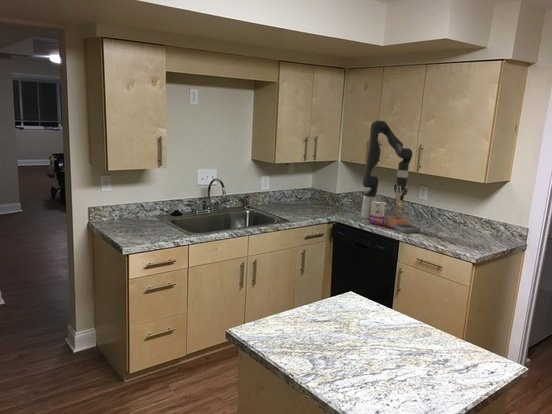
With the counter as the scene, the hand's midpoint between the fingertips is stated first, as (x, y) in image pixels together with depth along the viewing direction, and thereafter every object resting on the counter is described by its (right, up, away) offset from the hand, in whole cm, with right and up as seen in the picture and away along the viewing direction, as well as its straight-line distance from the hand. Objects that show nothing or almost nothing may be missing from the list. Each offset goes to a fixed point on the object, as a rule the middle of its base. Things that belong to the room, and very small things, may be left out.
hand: (399, 199), depth 329 cm
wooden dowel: (-1, -9, +2) cm, 9 cm away
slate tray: (+3, -22, -6) cm, 23 cm away
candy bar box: (-14, -18, +9) cm, 25 cm away
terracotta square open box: (-1, -20, +4) cm, 20 cm away
